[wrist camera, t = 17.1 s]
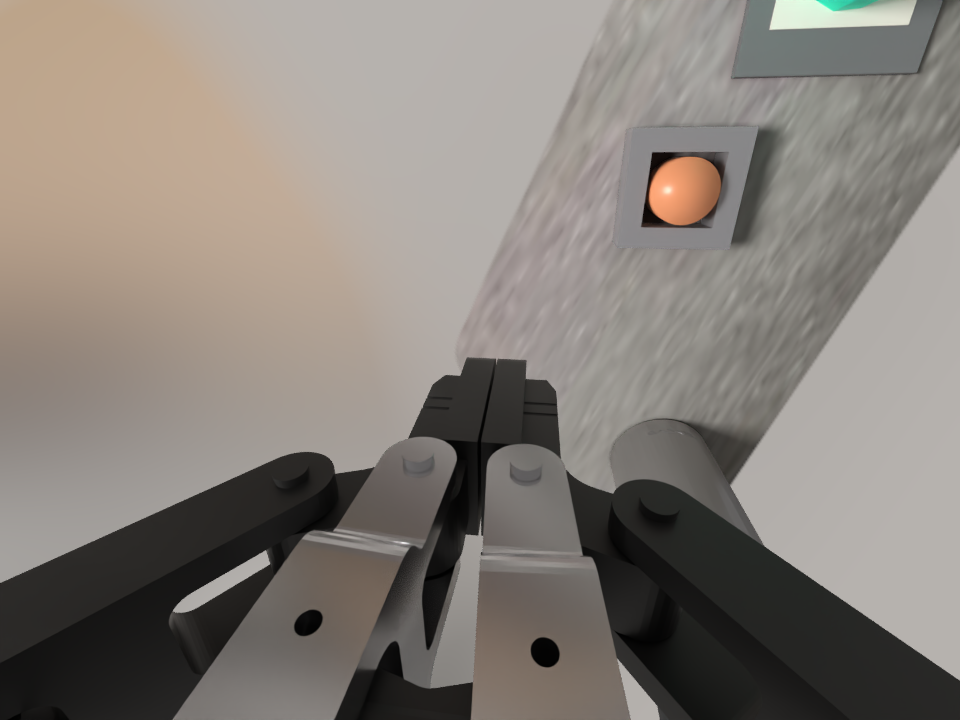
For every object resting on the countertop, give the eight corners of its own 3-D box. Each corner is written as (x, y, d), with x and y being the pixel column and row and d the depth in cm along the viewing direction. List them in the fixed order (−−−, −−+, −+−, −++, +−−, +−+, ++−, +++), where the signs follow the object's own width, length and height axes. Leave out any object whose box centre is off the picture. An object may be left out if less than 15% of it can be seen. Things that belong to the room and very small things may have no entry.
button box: (716, 243, 34) (729, 249, 32) (612, 241, 35) (617, 247, 33) (742, 128, 31) (758, 126, 28) (626, 129, 31) (632, 127, 29)
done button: (698, 219, 33) (712, 225, 31) (639, 218, 34) (648, 224, 31) (711, 156, 31) (727, 156, 29) (648, 156, 32) (658, 157, 29)
